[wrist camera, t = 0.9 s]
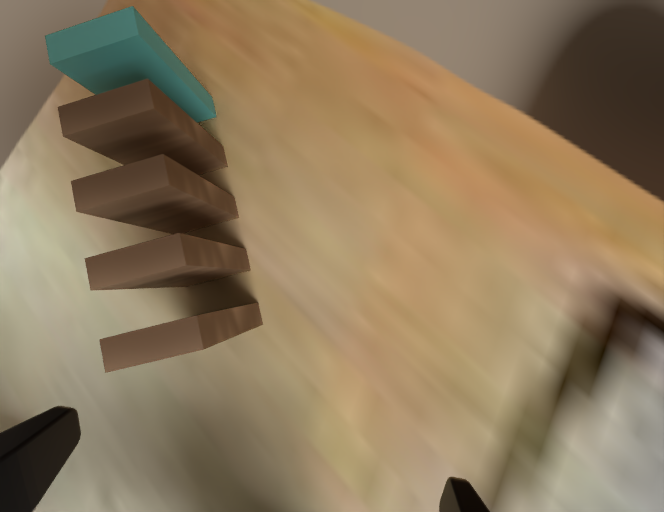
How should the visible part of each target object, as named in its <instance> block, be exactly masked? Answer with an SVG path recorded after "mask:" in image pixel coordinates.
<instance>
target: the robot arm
mask: <svg viewBox="0 0 664 512" xmlns="http://www.w3.org/2000/svg"><path fill="white" fill-rule="evenodd" d="M80 436H81V430H80V424H79V418H78V413H77V410H76V409H74V408H70V407H65V406H57V407H54V408H52V409H49V410H47V411H45V412H43V413H41V414H39V415H37V416H35V417H33V418H31V419H28V420H26V421H24V422H22V423H20V424H18V425H16V426H14V427H12V428H10V429H7V430H5V431H3V432H1V433H0V512H33V510H34V509H35V507H36V506H37V504H38V503H39V502H40V500H41V499H42V497H43V496H44V494H45V493H46V491H47V490H48V488H49V487H50V485H51V483H52V482H53V480H54V479H55V477H56V476H57V474H58V473H59V471H60V470H61V468H62V467H63V465H64V464H65V462H66V461H67V459H68V458H69V456H70V455H71V453H72V452H73V450H74V449H75V447H76V446H77V444H78V442H79V440H80ZM439 512H490V511H489V510H488V508H487V507H486V505H485V504H484V503H483V501H482V500H481V498H480V497H479V495H478V494H477V493H476V491H475V490H474V488H473V487H472V486H471V484H470V483H469V482H468V481H467V480H465V479H462V478H456V477H449V478H448V479H447V481H446V484H445V487H444V490H443V493H442V496H441V499H440V506H439Z"/></svg>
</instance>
